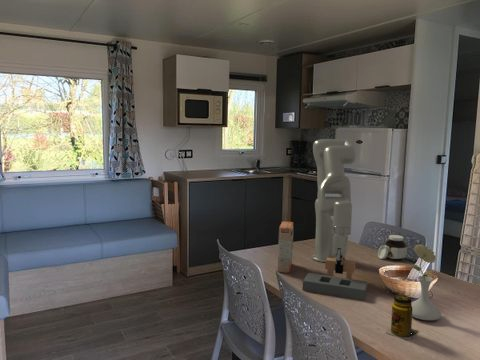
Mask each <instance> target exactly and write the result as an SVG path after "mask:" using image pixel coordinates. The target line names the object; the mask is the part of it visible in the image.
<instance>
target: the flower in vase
mask: <svg viewBox="0 0 480 360" xmlns="http://www.w3.org/2000/svg"><path fill="white" fill-rule="evenodd" d="M413 251H414V252H415V254H416V255H417V257H418V258H420V262H419V266H418V265H416V264H414V265H412V269H414V270H416V271H417V272H421V274H422V275H420V276H417V279H418V281H419V283H420V297H419V298H418V299H416V300H414V301H412V302H411V304H412V305H411V306H412V318H416V319H418V320H423V321H436V320H439V319H440V318H441V317H442V313H441V311H440V309H439V308H438V307H437V306H436V305H435V304H434V303H432V302H431V301H430V299H429V289H430V286H431V283H432V282H433V281H434V278H432V277H431V276H427V275H429V274H431V273H432V272H433V270H428V271H426V272H424V273H423V270H422V267H421V266H422V262H423V261H424V262H425V263H427V264H433V263H436V260H437V259H436V255H435V252H434V251H433V250H432V249H430V248H429V247H428V246H427V245H426V246H424V244H416V245H414V249H413ZM425 275H426V276H425Z"/></svg>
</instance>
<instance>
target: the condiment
mask: <svg viewBox="0 0 480 360" xmlns="http://www.w3.org/2000/svg"><path fill="white" fill-rule="evenodd" d="M412 302H413V301H412V298H411V297H410V296H409V295H407V294H395V295H394V297H393V303H392V306H391V321H390V322H391V323H390V324H391V325H390V326H391V327H390V329H388V330H387V332H386V334H389V335H392V336H394V337H397V338H400V339H405V340H407V341H410V340H411V339H412V338H413V337H414V336H415V334H416V333H418V329H415V328H412V325H413V322H412V321H413V316H412V306H411V305H412V304H411V303H412ZM390 332H391V333H390ZM411 333H412V334H411Z"/></svg>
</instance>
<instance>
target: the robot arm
mask: <svg viewBox="0 0 480 360" xmlns="http://www.w3.org/2000/svg"><path fill="white" fill-rule="evenodd" d="M312 153H313V158H314V160H315V164H316V169H317V170H316V171H317V172H316V173H317V174H316V175H317V177H316V179H317V198H316V199H315V202H314V208H315V209H314V210H315V241H314V242H315V245H314V247H315V249H314V253H313V254H312V255H311V259H312V260H314V261H317V262H320V263H325V260H326V259H327V257H328V258H336V264H335V270H334V273H335V274H340V275H343V273H344V272H343V260H346V256H347V253H348V246H349V244H348V243H349V242H348V241H349V236H350V235H351V234H352V217H353V216H352V215H353V214H352V212H353V204H352V197H351V196H352V195H351V194H352V191H351V190H352V189H351V181H350V178H349V177H348V176H347V175H345V168H344V164H345V165H347V164H348V165H349V164H350V165H351V164H353V163H355V160H356V150H355V148H354V146H353V145H352V143H351V142H350V141H349V140H348V139H345V138H342V139H341V138H337V139H336V138H335V139H334V138H322V139H317V140H315V141H313V144H312ZM325 195H338V196H325ZM332 217H333V218H332ZM340 259H341V260H340Z"/></svg>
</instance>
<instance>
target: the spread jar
mask: <svg viewBox="0 0 480 360" xmlns="http://www.w3.org/2000/svg"><path fill="white" fill-rule="evenodd" d="M404 238H405V237H404V236H402V235H399V234H389V235H388V239H387V240H386V241H385V244H384V245H380V247H379V248H378V250H377V257H378V258H379V259H380V260H384V259H387V260H389V261H393V262H394V261H395V262H401V261H404V259H406V257H407V253H408V252H407V249H408V248H407V243H406V242H405V240H404Z"/></svg>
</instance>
